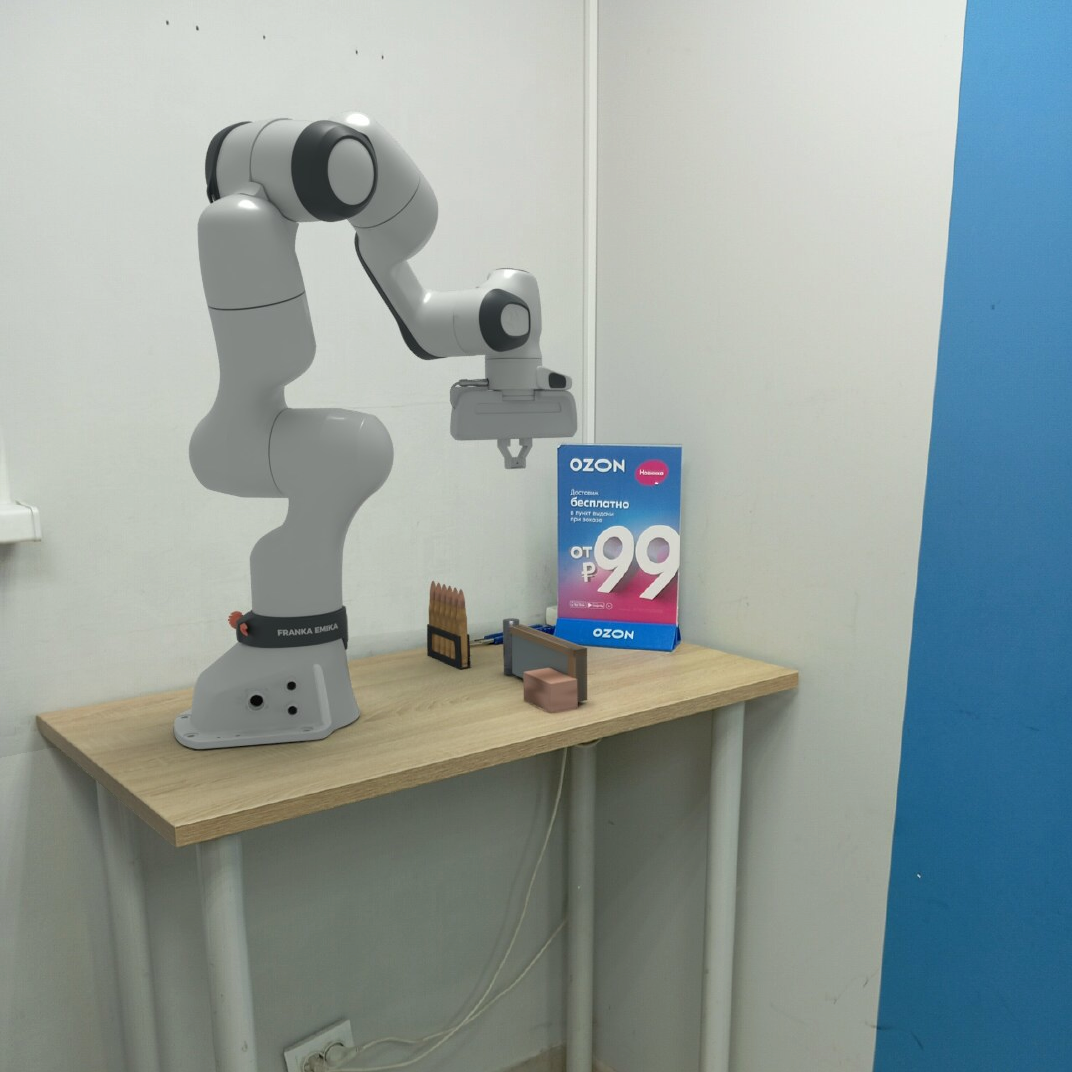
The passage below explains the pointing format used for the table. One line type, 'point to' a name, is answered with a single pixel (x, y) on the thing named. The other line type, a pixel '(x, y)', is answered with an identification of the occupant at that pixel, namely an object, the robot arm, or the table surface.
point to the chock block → (550, 690)
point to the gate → (548, 656)
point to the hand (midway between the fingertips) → (515, 468)
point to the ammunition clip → (448, 627)
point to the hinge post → (508, 645)
